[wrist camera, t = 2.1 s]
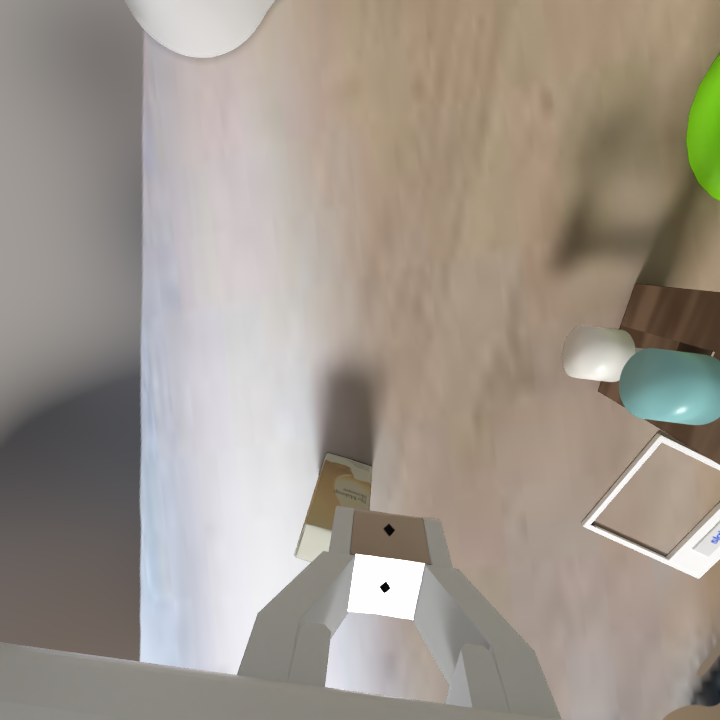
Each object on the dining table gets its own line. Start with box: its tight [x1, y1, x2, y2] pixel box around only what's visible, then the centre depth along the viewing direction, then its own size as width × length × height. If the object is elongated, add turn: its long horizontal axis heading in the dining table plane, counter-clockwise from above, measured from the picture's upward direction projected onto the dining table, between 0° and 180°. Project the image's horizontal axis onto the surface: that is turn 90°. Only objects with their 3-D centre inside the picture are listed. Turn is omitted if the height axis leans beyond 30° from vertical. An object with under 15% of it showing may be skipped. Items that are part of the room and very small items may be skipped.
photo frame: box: [581, 433, 720, 579], centre depth 42 cm, size 15×1×18 cm
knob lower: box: [562, 325, 643, 382], centre depth 28 cm, size 13×4×4 cm, turn 83°
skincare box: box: [294, 453, 372, 562], centre depth 37 cm, size 6×4×12 cm
